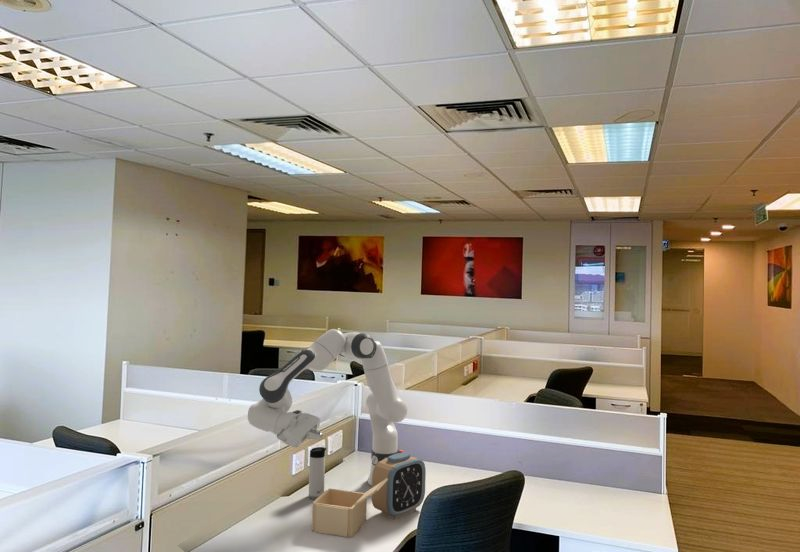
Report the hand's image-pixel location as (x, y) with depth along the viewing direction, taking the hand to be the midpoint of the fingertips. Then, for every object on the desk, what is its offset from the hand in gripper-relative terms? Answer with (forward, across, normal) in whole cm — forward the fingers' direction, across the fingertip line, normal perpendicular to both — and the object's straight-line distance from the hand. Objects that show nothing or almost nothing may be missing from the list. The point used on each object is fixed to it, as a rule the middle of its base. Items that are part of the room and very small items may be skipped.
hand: (321, 436), depth 210 cm
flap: (+20, -5, +16) cm, 26 cm away
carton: (+15, -7, +28) cm, 32 cm away
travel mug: (-3, +16, +35) cm, 39 cm away
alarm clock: (+32, +12, +27) cm, 44 cm away
